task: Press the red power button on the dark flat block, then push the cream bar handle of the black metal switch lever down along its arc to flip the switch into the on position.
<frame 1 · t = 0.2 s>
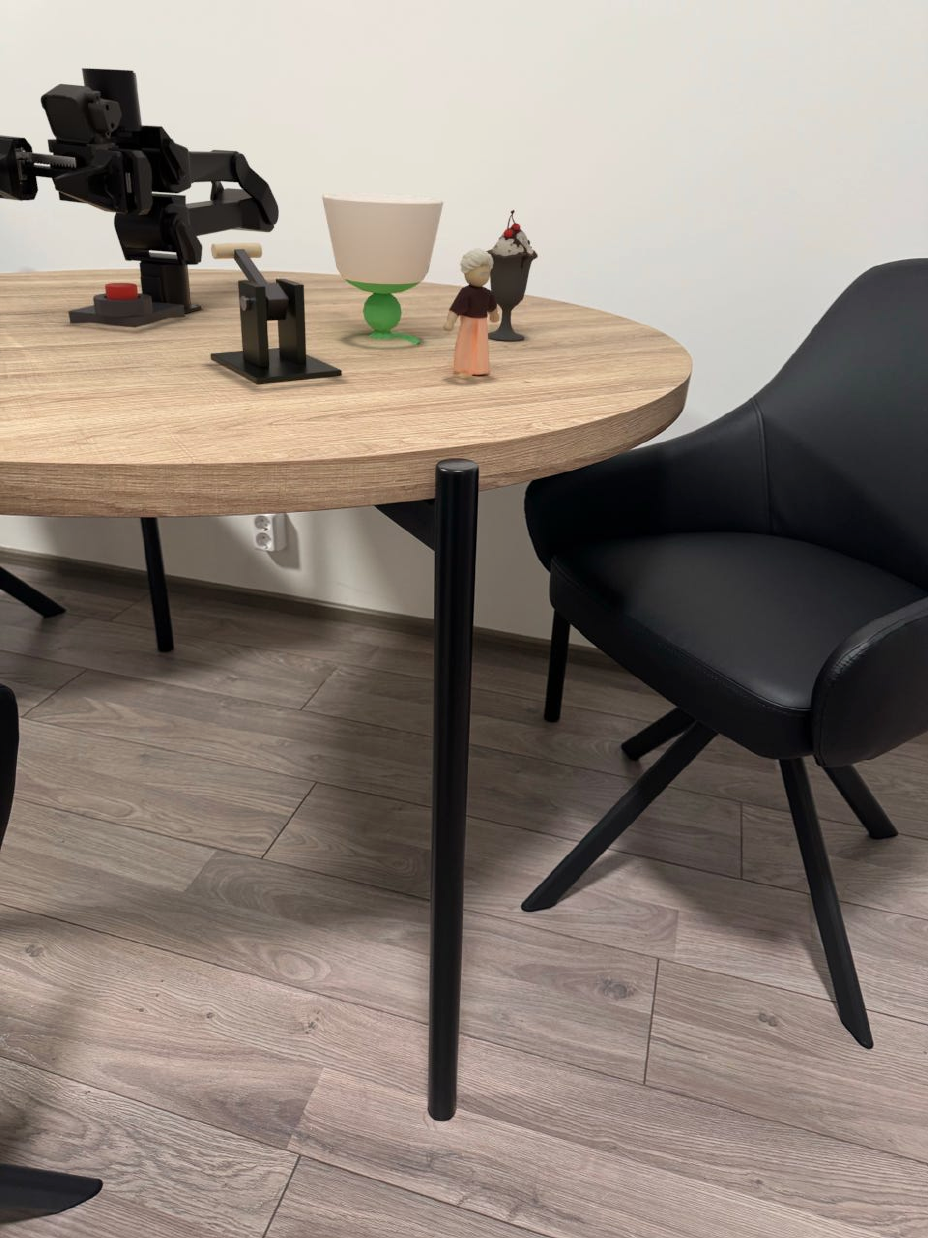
hand: (16, 179, 92), 16 cm above the table, tool horizontal, fingers open, 9 cm apart
lever: (255, 277, 92), point 9 cm above the table, hinge at 25.0°
cup: (382, 342, 110), on the table
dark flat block: (129, 321, 113), on the table
grandmother figurine: (471, 380, 95), on the table
power button: (121, 292, 109), point 4 cm above the table, slide at 0.1 cm
sundae: (505, 338, 116), on the table
switch bracket: (275, 373, 93), on the table
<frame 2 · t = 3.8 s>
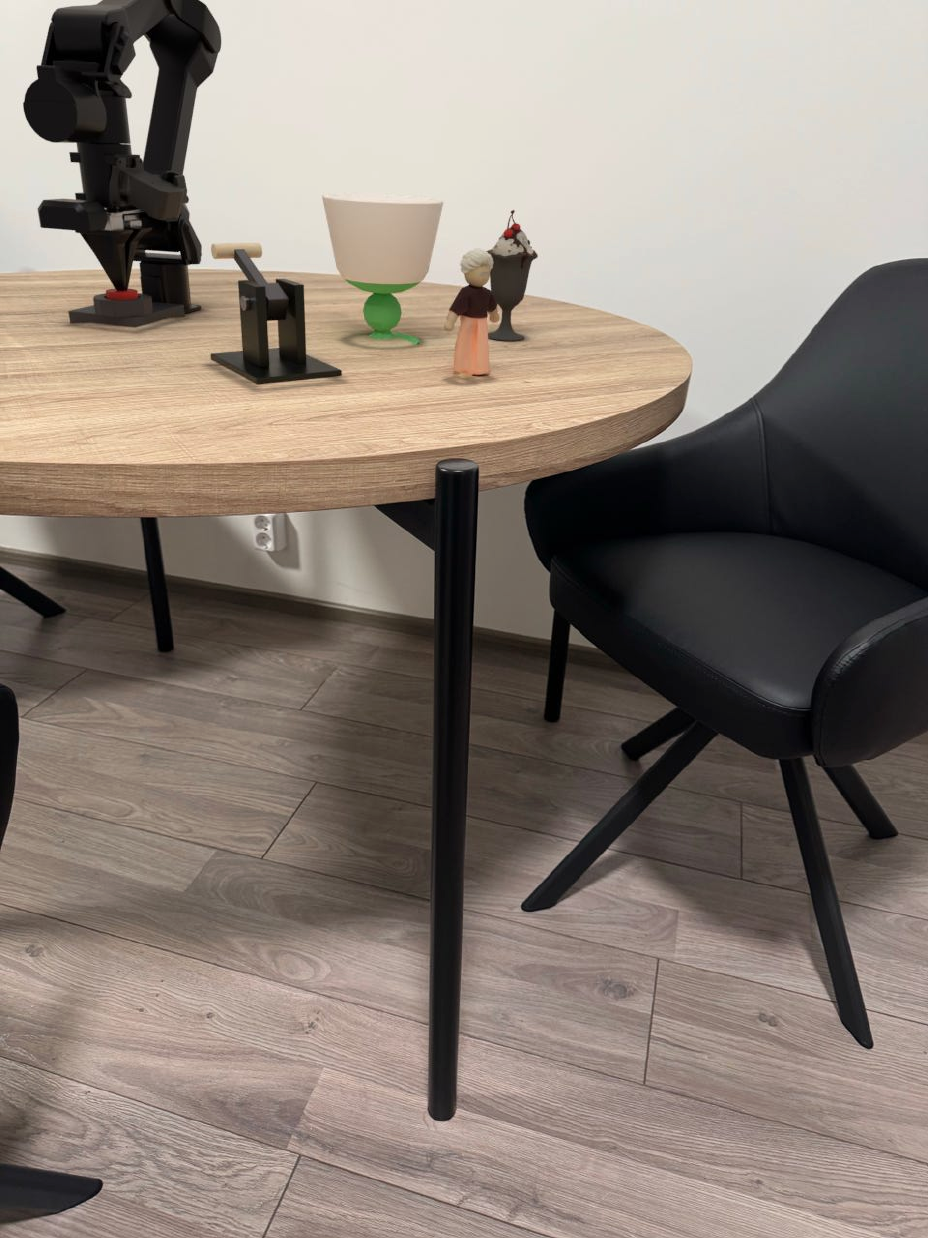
hand: (121, 290, 109), 4 cm above the table, tool pointing down, fingers closed, pressing on power button
power button: (122, 297, 109), point 3 cm above the table, slide at -0.5 cm, touching gripper
everything else where it was.
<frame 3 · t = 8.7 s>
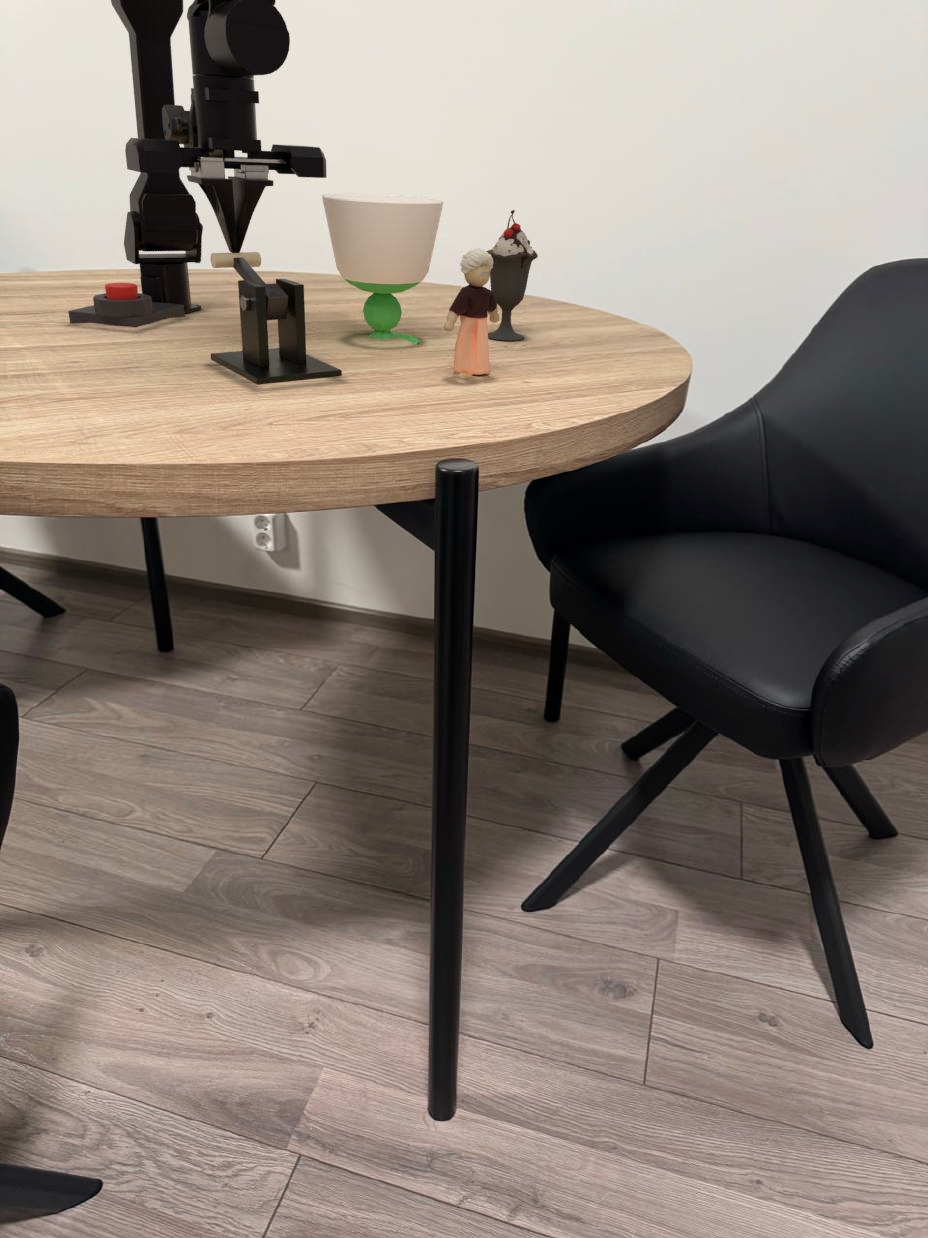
hand: (234, 252, 94), 11 cm above the table, tool pointing down, fingers closed, pressing on lever
lever: (254, 281, 92), point 8 cm above the table, hinge at 18.6°, touching gripper
power button: (121, 292, 109), point 4 cm above the table, slide at 0.1 cm
everything else where it was.
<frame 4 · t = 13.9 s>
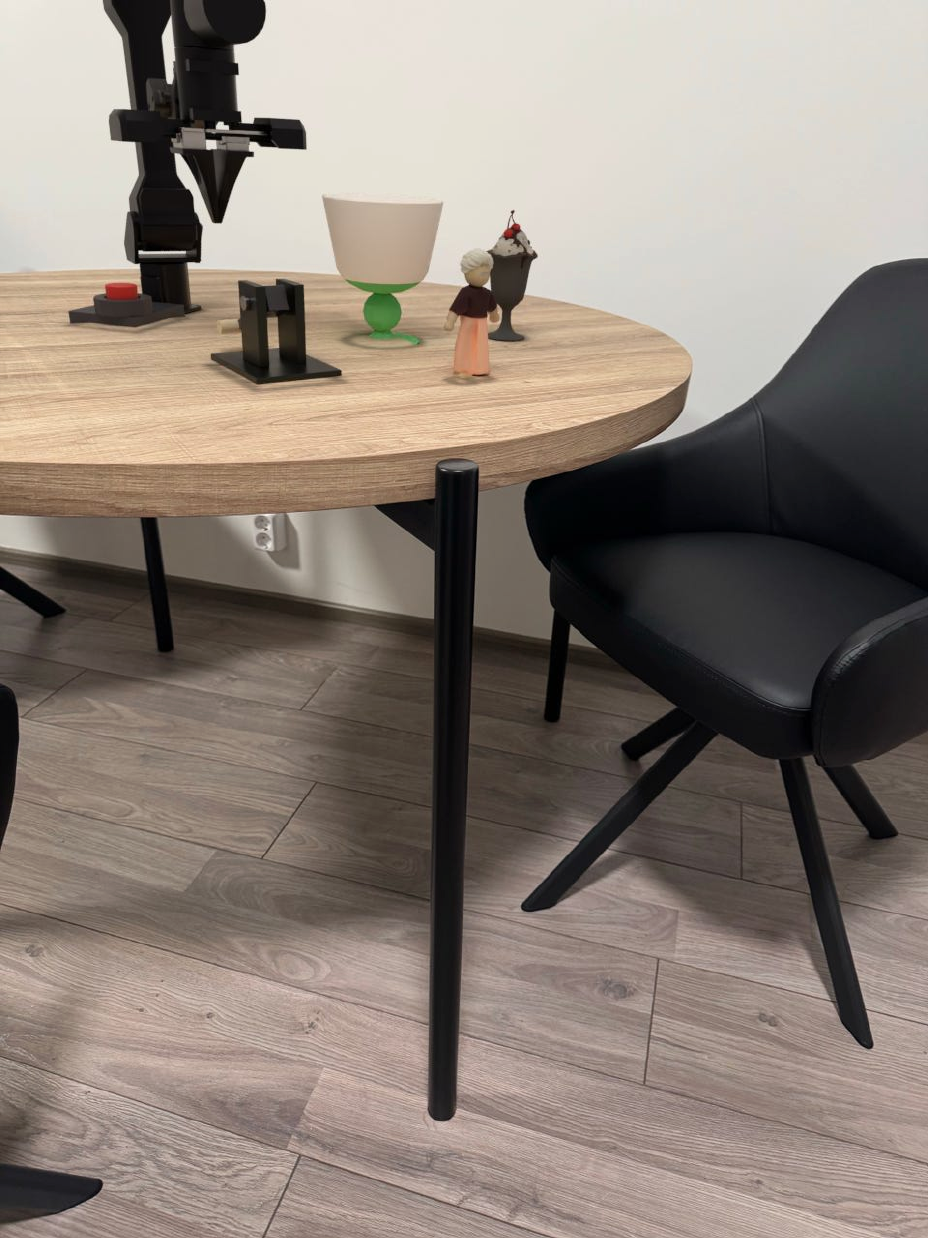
hand: (217, 222, 96), 13 cm above the table, tool pointing down, fingers closed
lever: (257, 313, 93), point 5 cm above the table, hinge at -24.1°
everything else where it was.
at the end: power button pushed in 1.1 cm at the most during the clip, back to where it started at the end; power button slide at 0.1 cm; lever at -24° (first picture: +25°) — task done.
